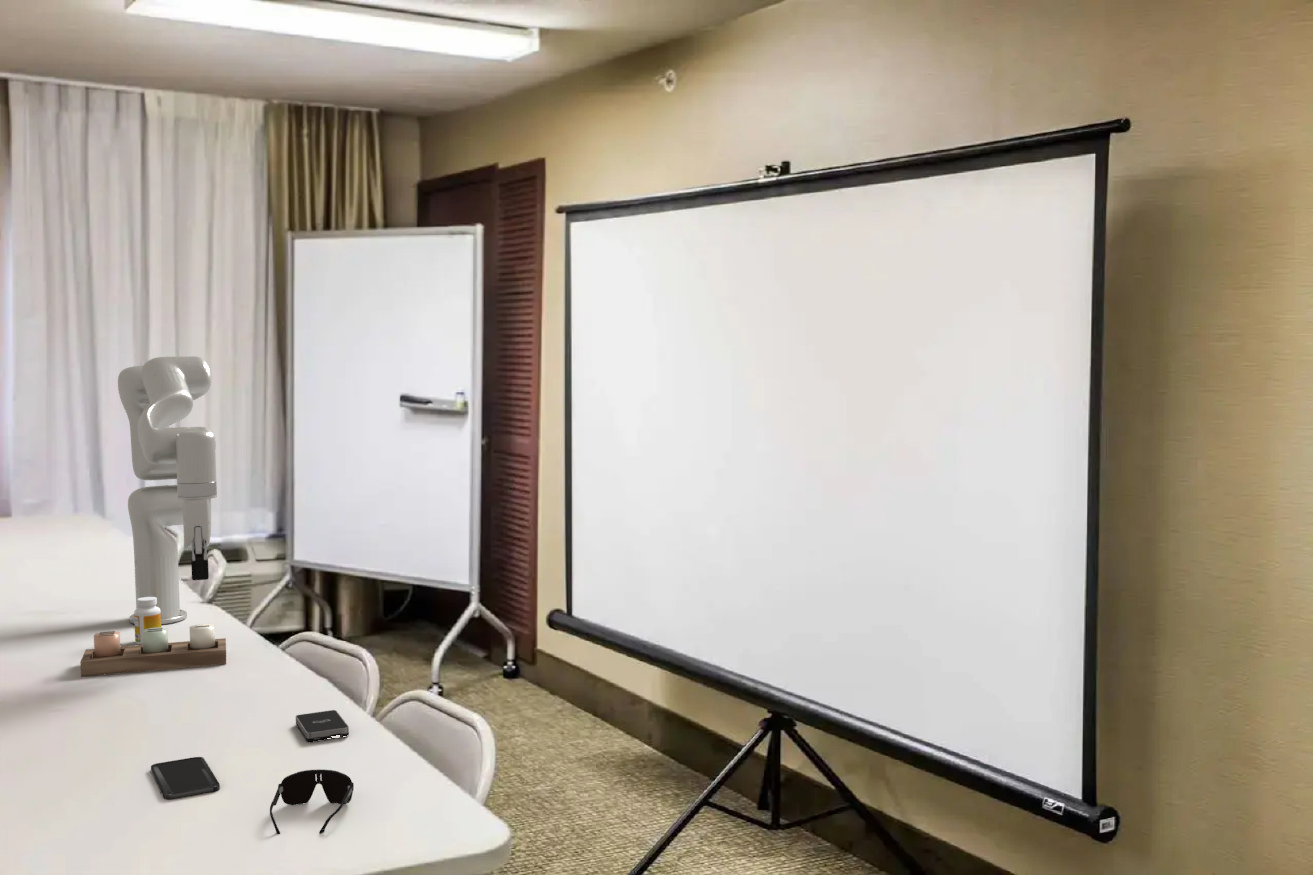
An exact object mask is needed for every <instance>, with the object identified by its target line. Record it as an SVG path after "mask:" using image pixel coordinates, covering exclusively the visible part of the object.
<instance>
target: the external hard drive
mask: <svg viewBox="0 0 1313 875" xmlns="http://www.w3.org/2000/svg"><path fill="white" fill-rule="evenodd" d="M295 725H296V727H297V726H298V727H297V728H298V729H299V732H301V735H302V736H303V737H304V739H305V740H306V742H307V743H309V742H310V743H314V742H313V741H317V742H319V741H318V740H324V739H327V738H332V737H331V736H336V735H340V737H343V736H347V735H348V736H349V734H350V732H349V731H350V730H349V725H348V724H347V722H346V720H344V718H343V717H342V716H341V715H340V713H339V712H338V710H335V709H331V710H324V711H323V710H322V711H316V712H309V713H303V714H302V713H301V714H296V715H295ZM324 741H325V740H324Z"/></svg>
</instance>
